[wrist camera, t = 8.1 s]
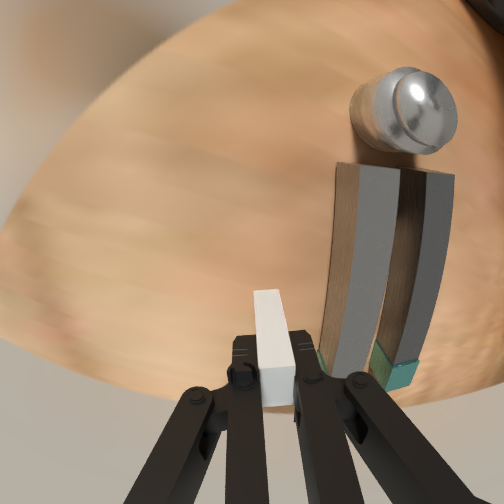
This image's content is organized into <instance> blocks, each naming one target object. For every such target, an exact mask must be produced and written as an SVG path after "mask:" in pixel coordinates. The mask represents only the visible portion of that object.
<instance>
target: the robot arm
mask: <svg viewBox="0 0 504 504" xmlns="http://www.w3.org/2000/svg"><path fill="white" fill-rule="evenodd" d="M467 1H468V2H469V3H470V4H471V5H472V7H473V8H474V9H475V10H476V11H477V12H478V13H479V14H480V15H481V16H482V17H483V18H484V19H485V20H486V21H487V22H488V23H489V24H490V25H491V26H493V27H494V28H495V29H496V30H497V31H499V32H500V33H502V34H503V35H504V0H467ZM254 307H255V323H256V335H243V336H237V337H236V338H235V340H234V341H233V351H232V364H231V365H230V366H229V367H228V370H227V376H228V382H229V383H228V384H227V385H225V386H224V387H222V388H219V389H216V390H213V391H210V390H208V389H207V388H204V387H198V386H196V387H192V388H189V389H188V390H186V391H185V392H184V393H183V394H182V396H181V398H180V400H179V402H178V404H177V406H176V407H175V409H174V411H173V413H172V415H171V417H170V418H169V421H168V422H167V424H166V426H165V428H164V430H163V432H162V433H161V435H160V437H159V439H158V441H157V443H156V444H155V446H154V448H153V450H152V452H151V454H150V456H149V457H148V459H147V461H146V463H145V465H144V467H143V469H142V470H141V472H140V474H139V476H138V478H137V479H136V481H135V483H134V485H133V487H132V489H131V491H130V492H129V494H128V496H127V498H126V499H125V501H124V503H123V504H194V501H195V499H196V496H197V494H198V491H199V489H200V486H201V484H202V481H203V479H204V476H205V474H206V471H207V468H208V466H209V463H210V461H211V458H212V455H213V453H214V450H215V448H216V445H217V442H218V439H219V437H220V434H221V431H225V430H227V451H226V452H227V453H226V485H225V504H269V493H268V479H267V467H266V453H265V439H264V427H263V426H264V425H263V411H262V407H274V406H284V405H293V403H294V405H295V413H294V422H296V426H297V432H298V438H299V444H300V450H301V457H302V463H303V470H304V476H305V482H306V489H307V496H308V502H309V504H364V500H363V496H362V492H361V488H360V485H359V481H358V478H357V474H356V470H355V466H354V463H353V459H352V456H351V452H350V449H349V446H348V442H347V439H346V435H345V433H346V434H347V436H348V437H349V439H350V440H351V442H352V443H353V445H354V447H355V448H356V450H357V451H358V453H359V454H360V456H361V457H362V459H363V460H364V462H365V463H366V465H367V466H368V468H369V469H370V471H371V472H372V474H373V475H374V476H375V478H376V480H377V481H378V483H379V484H380V486H381V487H382V489H383V490H384V492H385V493H386V495H387V496H388V498H389V499H390V501H391V502H392V503H393V504H491V503H488V502H486V501H484V500H482V499H479V498H477V497H475V496H474V495H473V494H472V493H471V492H470V490H469V489H468V488H467V487H466V486H465V484H464V483H463V482H462V481H461V479H460V478H459V477H458V476H457V475H456V473H455V472H454V471H453V470H452V469H451V467H450V466H449V465H448V464H447V463H446V462H445V460H444V459H443V458H442V457H441V456H440V454H439V453H438V452H437V451H436V450H435V449H434V447H433V446H432V445H431V444H430V443H429V441H428V440H427V439H426V438H425V437H424V436H423V434H422V433H421V432H420V431H419V430H418V429H417V427H416V426H415V425H414V424H413V423H412V422H411V420H410V419H409V418H408V417H407V416H406V415H405V413H404V412H403V411H402V410H401V409H400V408H399V406H398V405H397V404H396V403H395V402H394V401H393V399H392V398H391V397H390V396H389V395H388V394H387V393H386V391H385V390H384V389H383V388H382V387H381V386H380V384H379V383H378V382H377V381H376V380H375V379H374V377H373V376H371V375H370V374H369V373H366V372H362V371H357V372H353V373H351V374H349V375H348V376H347V378H346V379H345V378H335V377H331V376H328V375H327V374H326V373H325V372H324V371H323V370H322V369H321V367H320V363H319V360H318V357H317V354H316V351H315V349H314V345H313V342H312V339H311V335H310V334H309V333H307V332H306V331H305V330H298V331H288V329H287V324H286V320H285V315H284V311H283V307H282V302H281V298H280V294H279V289H272V290H258V291H254ZM344 431H345V432H344Z"/></svg>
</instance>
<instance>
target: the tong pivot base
mask: <svg viewBox="0 0 504 504" xmlns="http://www.w3.org/2000/svg"><path fill="white" fill-rule="evenodd" d="M420 71H421V70H419V69H416V68H412V67H401V68H398V69H396V70H393V71H391V72H389V73H386V74H384V75H382V76H380V77H378V78H376V79H373V80H371V81H369V82H367V83H365V84H363V85H361V86H360V87H359V88H358V89H357V90H356V91H355V93H354V94H353V96H352V99H351V102H350V118H351V122H352V124H353V127H354V129H355V131H356V133H357V134H358V136H359V137H360V138H361V139H362V140H363V141H364V142H365V143H366V144H367V145H368V146H370V147H372V148H374V149H376V150H379V151H384V152H399V153H412V154H423V155H427V154H432V153H435V152H437V151H438V150H439V149H441V148H442V147H443V146H444V145H442V146H425V145H421V144H418V143H416V142H414V141H413V140H412V139H410V138H409V137H408V136H407V135H406V134H405V133H404V131H403V130H402V128H401V127H400V125H399V123H398V121H397V119H396V117H395V113H394V109H393V102H392V97H393V91H394V88H395V85H396V84H397V82H398V81H399V80H400V79H401V78H402V77H404V76H406V75H408V74H411V73H414V72H420ZM422 72H423V71H422ZM397 169H400V183H399V196H398V207H397V217H396V225H395V233H394V240H393V247H392V254H391V262H390V270H389V277H388V283H387V289H386V295H385V301H384V306H383V312H382V317H381V322H380V326H379V331H378V335H377V340H375V344H374V348H373V352H372V356H371V360H370V364H369V365H370V367H371V369H372V371H373V373H374V375H375V377H376V379H377V381H378V382H379V384H380V386H381V387H382V388H383V389H384V390H385V391H386V392H389V391H392V390H396V389H399V388H402V387H406V386H409V385H410V383H411V381H412V379H413V376H414V374H415V371H416V369H417V366H418V364H419V360H418V357H419V355H420V352H421V349H422V346H423V343H424V340H425V337H426V334H427V331H428V328H429V325H430V322H431V318H432V315H433V311H434V308H435V304H436V300H437V296H438V292H439V288H440V284H441V279H442V275H443V270H444V265H445V260H446V254H447V248H448V242H449V235H450V227H451V219H452V209H453V197H454V180H455V175H453V174H448V173H444V172H439V171H433V170H428V169H421V168H409V167H397Z"/></svg>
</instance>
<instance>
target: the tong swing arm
mask: <svg viewBox="0 0 504 504" xmlns="http://www.w3.org/2000/svg"><path fill="white" fill-rule="evenodd" d="M392 102H393V109H394V113H395V117H396V119H397V121H398V123H399V125H400V127H401V128H402V130H403V131H404V133H405V134H406V135H407V136H408V137H409V138H410V139H412V140H413V141H414V142H416V143H418V144H421V145H425V146H442V145H445V144H446V143H448V142H449V141H450V140H451V139H452V137H453V136H454V134H455V131H456V127H457V110H456V105H455V102H454V100H453V97H452V95H451V93H450V92H449V90H448V88H447V87H446V86H445V85H444V83H443V82H442V81H441V80H440V79H438V78H437V77H436V76H434V75H432V74H430V73H427V72H422V71H420V72H414V73H411V74H408V75H406V76H404V77H402V78H401V79H400V80H399V81H398V82H397V84H396V85H395V88H394V91H393V97H392ZM399 183H400V169H394V168H388V167H382V166H376V165H368V164H357V163H343V162H337V177H336V200H335V218H334V232H333V244H332V255H331V266H330V275H329V284H328V292H327V300H326V308H325V315H324V322H323V329H322V335H321V342H320V348H319V350H317V357H318V360H319V363H320V367H321V369H322V370H323V371H324V372H325V373H326V374H327V375H328V376H331V377H335V378H345V379H346V378H347V376H348V375H349V374H351V373H353V372H357V371H362V372H363V370H364V366H365V363H366V360H367V357H368V354H369V350H370V347H371V343H372V340H373V336H374V333H375V329H376V325H377V321H378V317H379V313H380V309H381V305H382V300H383V296H384V291H385V286H386V281H387V276H388V271H389V265H390V260H391V253H392V247H393V240H394V233H395V225H396V217H397V207H398V196H399Z"/></svg>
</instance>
